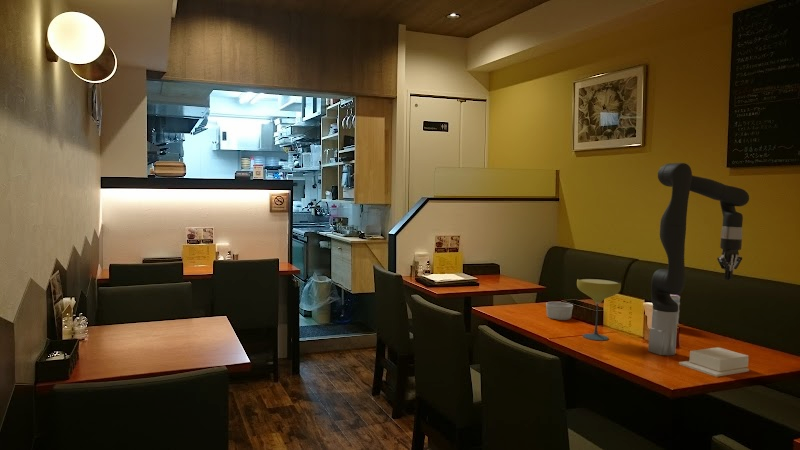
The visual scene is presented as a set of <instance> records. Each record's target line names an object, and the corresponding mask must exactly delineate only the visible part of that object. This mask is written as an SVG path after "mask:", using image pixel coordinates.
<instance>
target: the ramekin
mask: <svg viewBox="0 0 800 450" xmlns="http://www.w3.org/2000/svg"><path fill="white" fill-rule="evenodd" d="M545 306H546V310H545V311H546V316H547V318H549V319H551V320H559V321H567V320H570V319H571V318H572V313H573V309H574V305H573V304H571V303H569V302H568V303H567V302H562V301H548V302H545Z"/></svg>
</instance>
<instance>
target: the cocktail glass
mask: <svg viewBox="0 0 800 450" xmlns="http://www.w3.org/2000/svg"><path fill="white" fill-rule="evenodd" d="M576 287H577V289H578V290H579V291H580V292H581V293H583V294H585V295H586V296H588V297H589V298H591V299H592V300H593V302H594V303H595V304H596V309H595V310H596V311H595V312H596V313H595V324H594V325H595V327H594V331H593V333H584V334H582V337H583V338H584V339H586V340H590V341H597V342H600V341H601V342H602V341H603V342H604V341H608V340H609V339H610V338H609V336H606V335H603V334H599V333H598V318H599V317H598V316H599V313H598V312H599V304H601V303H602V302H603V301H604V300H605V299H607V298H611V297H613V296H615V295H617V294H619V293H620V291H621V290H622V289H621V288H622V283H621V281H619V280H617V279H611V278H604V277H592V276H591V277H588V276H586V277H578V278H577V280H576Z"/></svg>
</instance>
